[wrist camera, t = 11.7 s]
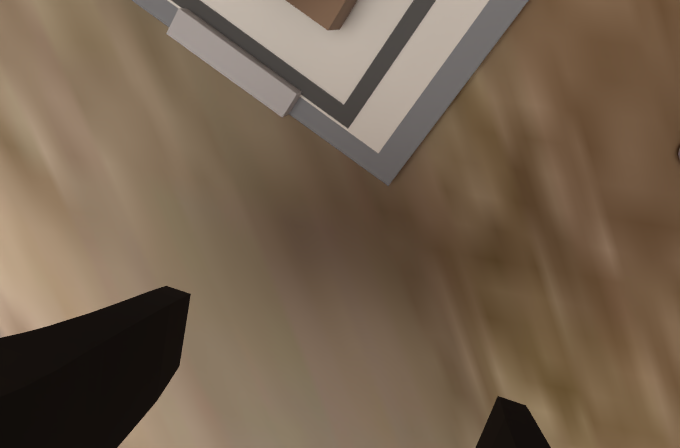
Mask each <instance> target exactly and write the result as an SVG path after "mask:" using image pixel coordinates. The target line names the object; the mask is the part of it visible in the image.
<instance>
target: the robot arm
mask: <svg viewBox="0 0 680 448" xmlns="http://www.w3.org/2000/svg"><path fill="white" fill-rule="evenodd" d="M678 156H679V160H680V148H679V153H678ZM190 295H191V294H189V293H186V292H183V291H180V290H177V289H174V288H171V287H168V286H165V287H161V288H158V289H155V290H152V291H149V292H147V293H144V294H141V295H138V296H136V297H133V298H130V299H128V300H125V301H122V302H120V303H117V304H114V305H111V306H108V307H106V308H103V309H100V310H97V311H94V312H92V313H89V314H85V315H82V316H79V317H76V318H73V319H69V320H66V321H63V322H60V323H57V324H53V325H50V326H47V327H43V328H40V329H36V330H32V331H28V332H24V333H20V334H16V335H11V336H7V337H2V338H0V448H117V447H118V446H119V445H120V444H121V443H122V441H123V440H124V439H125V438H126V437H127V436H128V434H129V433H130V432H131V431H132V430H133V429H134V427H135V426H136V425H137V424H138V423H139V421H140V420H141V419H142V418H143V417H144V416H145V414H146V413H147V412H148V411H149V410H150V408H151V407H152V406H153V405H154V404H155V402H156V401H157V400H158V398H159V397H160V395H161V394H162V392H163V391H164V389H165V388H166V386H167V385H168V383H169V382H170V380H171V378H172V377H173V375H174V374H175V372H176V370H177V369H178V367H179V365H180V359H181V352H182V346H183V340H184V333H185V327H186V320H187V314H188V308H189V301H190ZM476 448H551V447H550V446H549V444H548V442H547V440H546V439H545V437H544V435H543V434H542V432H541V430H540V428H539V427H538V425H537V423H536V421H535V420H534V418H533V416H532V415H531V413H530V411H529V410H528V408H527V407H526V405H523V404H520V403H517V402H514V401H511V400H508V399H505V398H502V397H499V396H498V397H497V399H496V402H495V404H494V406H493V409H492V411H491V413H490V416H489V418H488V420H487V423H486V425H485V427H484V430H483V432H482V434H481V437H480V439H479V441H478V444H477V446H476Z"/></svg>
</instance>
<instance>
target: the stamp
mask: <svg viewBox="0 0 680 448" xmlns="http://www.w3.org/2000/svg"><path fill="white" fill-rule="evenodd" d="M286 1H287V2H288V3H290V4H291V5H293V6H294V7H295V8H297V9H298V10H300V11H301V12H303V13H304V14H305V15H307V16H308V17H310V18H311V19H312V20H314V21H315V22H317V23H318V24H319V25H321V26H322V27H324V28H325V29H326V30H340V28H341V27H342V25H343V23H344V22H345V20H346V18H347V17H348V15H349V14H350V12H351V10H352V9H353V7H354V5H355V4H356V2H357V0H286Z"/></svg>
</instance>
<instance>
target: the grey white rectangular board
mask: <svg viewBox="0 0 680 448" xmlns="http://www.w3.org/2000/svg"><path fill="white" fill-rule="evenodd" d="M132 1H133V2H135V3H136V4H138V5H139V6H140V7H142V8H143V9H144V10H146V11H147V12H149V13H150V14H151V15H153V16H154V17H156V18H157V19H158V20H160V21H161V22H162V23H164V24H165V25H167V26H168V27H169V29H168V31H167V33H166V34H168V35H169V36H170V37H172V38H173V39H174V40H176V41H177V42H179V43H180V44H181V45H183V46H184V47H185V48H187V49H188V50H190V51H191V52H192V53H194V54H195V55H197V56H198V57H199V58H201V59H202V60H203V61H205V62H206V63H208V64H209V65H210V66H212V67H213V68H215V69H216V70H217V71H219V72H220V73H221V74H223V75H224V76H226V77H227V78H228V79H230V80H231V81H232V82H234V83H235V84H237V85H238V86H239V87H241V88H242V89H244V90H245V91H246V92H248V93H249V94H250V95H252V96H253V97H255V98H256V99H257V100H259V101H260V102H262V103H263V104H264V105H266V106H267V107H268V108H270V109H271V110H273V111H274V112H275V113H277V114H278V115H279V116H281V117H284V116H286V115H288V114H290V115H291V116H292V117H294V118H295V119H296V120H298V121H299V122H301V123H302V124H303V125H305V126H306V127H307V128H309V129H310V130H312V131H313V132H314V133H316V134H317V135H319V136H320V137H321V138H323V139H324V140H325V141H327V142H328V143H330V144H331V145H332V146H334V147H335V148H336V149H338V150H339V151H341V152H342V153H343V154H345V155H346V156H348V157H349V158H350V159H352V160H353V161H354V162H356V163H357V164H359V165H360V166H361V167H363V168H364V169H365V170H367V171H368V172H370V173H371V174H372V175H374V176H375V177H377V178H378V179H379V180H381V181H382V182H383V183H385V184H386V185H388V186H389V184H390V183H391V182H392V180H393V179H394V178H395V176H396V175H397V174H398V172H399V171H400V170H401V168H402V167H403V166H404V164H405V163H406V162H407V161H408V159H409V158H410V157H411V155H412V154H413V153H414V151H415V150H416V149H417V147H418V146H419V145H420V143H421V142H422V141H423V139H424V138H425V137H426V135H427V134H428V133H429V131H430V130H431V129H432V127H433V126H434V125H435V123H436V122H437V121H438V119H439V118H440V117H441V115H442V114H443V113H444V112H445V110H446V109H447V108H448V106H449V105H450V104H451V102H452V101H453V100H454V98H455V97H456V96H457V94H458V93H459V92H460V90H461V89H462V88H463V86H464V85H465V84H466V82H467V81H468V80H469V78H470V77H471V76H472V74H473V73H474V72H475V70H476V69H477V68H478V66H479V65H480V64H481V63H482V61H483V60H484V59H485V57H486V56H487V55H488V53H489V52H490V51H491V49H492V48H493V47H494V45H495V44H496V43H497V41H498V40H499V39H500V37H501V36H502V35H503V33H504V32H505V31H506V29H507V28H508V27H509V25H510V24H511V23H512V21H513V20H514V19H515V17H516V16H517V15H518V14H519V12H520V11H521V10H522V8H523V7H524V6H525V4H526V3H527V2H528V0H357V2H356V4H355V5H354V7H353V9H352V10H351V12H350V14H349V15H348V17H347V18H346V20H345V22H344V23H343V25H342V27H341V28H340V30H326V29H325V28H324V27H322V26H321V25H319V24H318V23H317V22H315V21H314V20H312V19H311V18H310V17H308V16H307V15H305V14H304V13H303V12H301V11H300V10H298V9H297V8H295V7H294V6H293V5H291V4H290V3H288V2H287V1H286V0H132Z"/></svg>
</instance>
